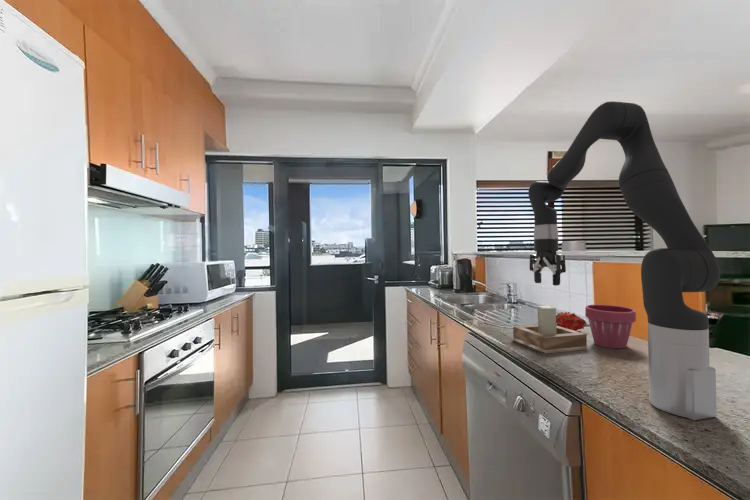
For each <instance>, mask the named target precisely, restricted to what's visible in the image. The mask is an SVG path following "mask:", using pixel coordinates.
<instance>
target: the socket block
mask: <svg viewBox="0 0 750 500" xmlns="http://www.w3.org/2000/svg"><path fill="white" fill-rule="evenodd" d="M556 327H557V334H555V335H544V334H541V333H539V332H538V324H528V325H519V326H517V325H515V326H512V331H513V333H512V337H513V341H514V342H517V343H519V344H522V345H525V346H527V347H529V348H531V347H532V349H534V350H536V351H538V352H541V353H543V352H544V353H543V354H552V353H553V354H554V353H562V352H573V351H580V350H587V349H588V347H587V346H588V345H587V344H588V343H587V341H588V340H587V339H588V338H587V333H584V332H582V331H581V332H577V331H578V330H577V331H574V330H570V329H567V328H563V327H560V326H556Z"/></svg>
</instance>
